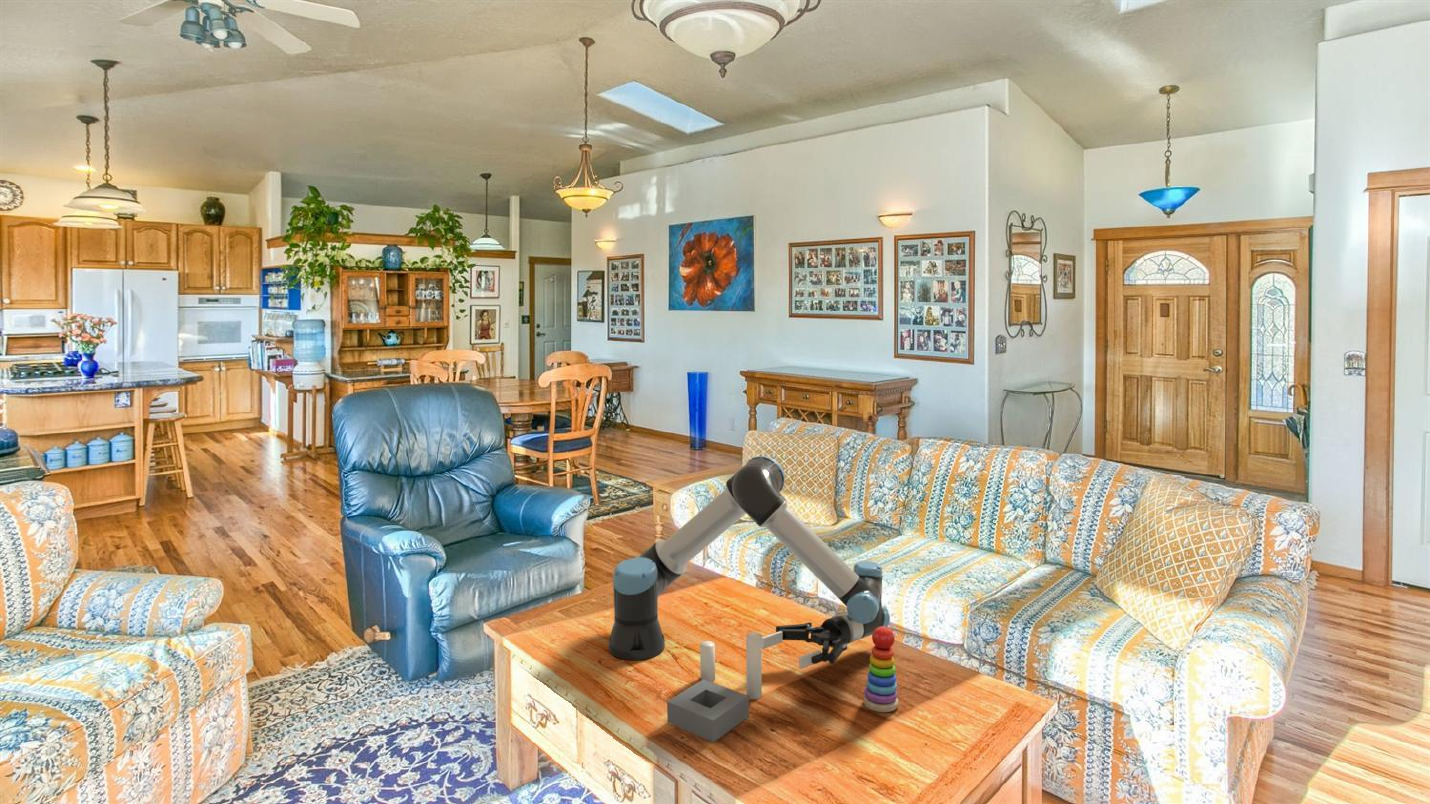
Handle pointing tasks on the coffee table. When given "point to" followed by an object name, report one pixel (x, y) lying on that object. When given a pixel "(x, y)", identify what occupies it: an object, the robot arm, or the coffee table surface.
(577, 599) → the coffee table surface
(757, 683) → the tall pin
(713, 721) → the hole block
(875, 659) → the stacking toy
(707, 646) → the short pin
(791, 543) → the robot arm
